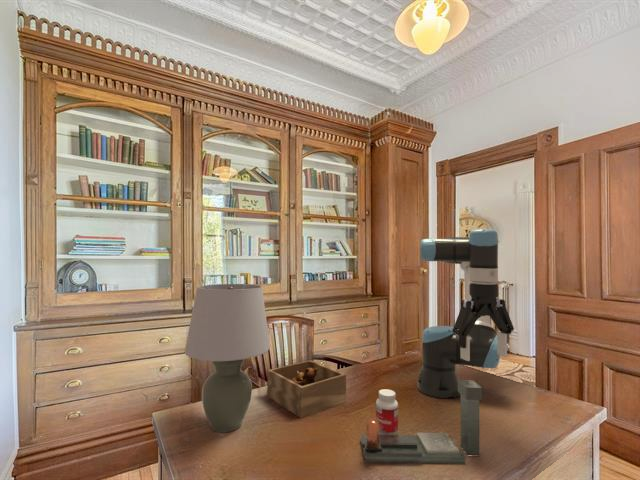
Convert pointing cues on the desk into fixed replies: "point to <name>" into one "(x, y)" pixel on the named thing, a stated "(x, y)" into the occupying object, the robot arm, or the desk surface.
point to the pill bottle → (387, 412)
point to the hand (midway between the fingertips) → (484, 357)
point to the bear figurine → (305, 377)
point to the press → (434, 437)
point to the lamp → (227, 347)
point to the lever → (372, 435)
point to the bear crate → (306, 388)
